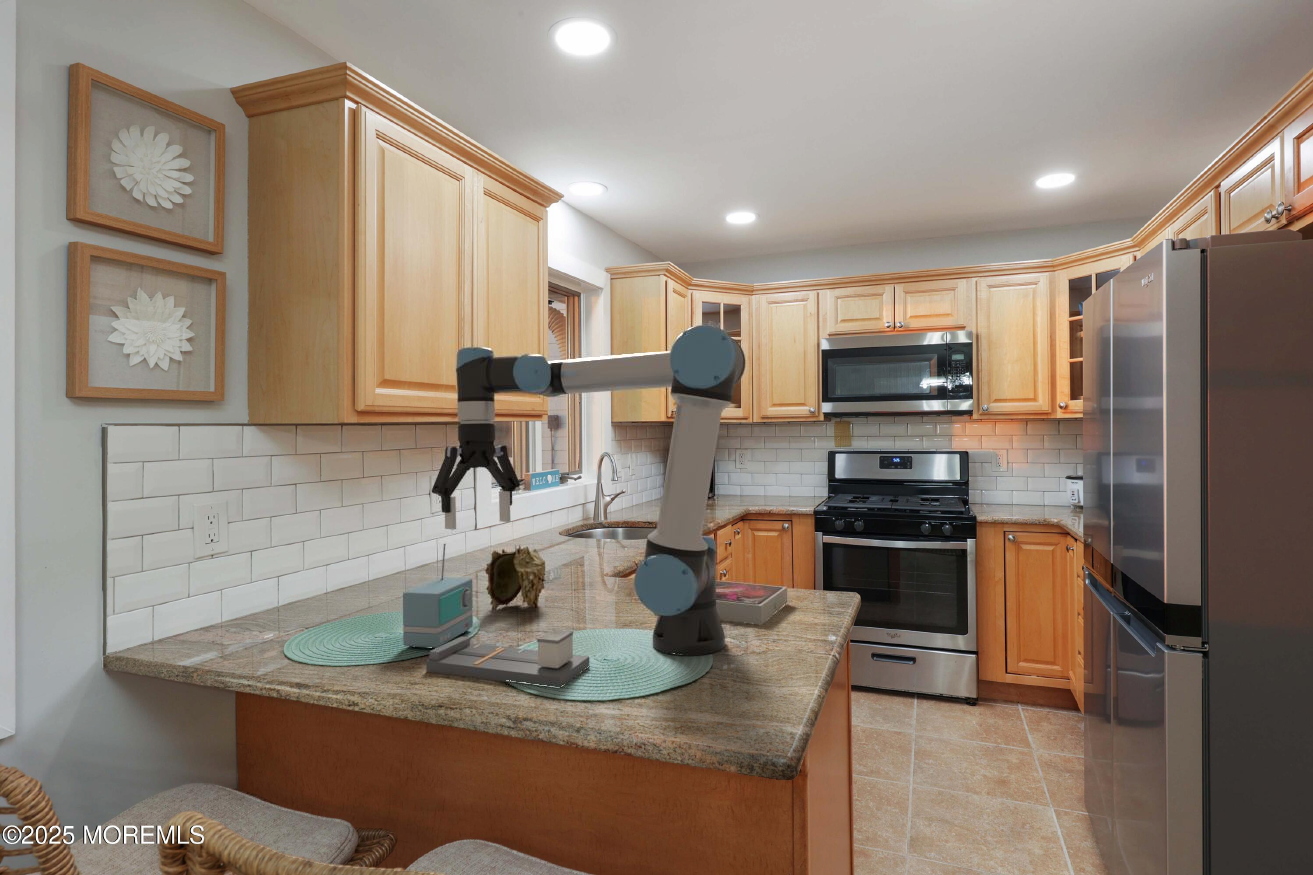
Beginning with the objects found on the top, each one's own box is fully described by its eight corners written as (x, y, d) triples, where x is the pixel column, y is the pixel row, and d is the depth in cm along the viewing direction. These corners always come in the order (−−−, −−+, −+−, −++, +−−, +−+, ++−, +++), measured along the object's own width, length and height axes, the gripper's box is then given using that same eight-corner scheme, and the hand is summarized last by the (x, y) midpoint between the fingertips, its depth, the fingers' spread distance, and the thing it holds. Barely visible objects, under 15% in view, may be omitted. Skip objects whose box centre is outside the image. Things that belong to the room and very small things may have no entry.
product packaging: (761, 627, 159) (761, 605, 159) (652, 613, 171) (652, 593, 171) (787, 606, 178) (787, 587, 178) (687, 595, 191) (687, 577, 191)
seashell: (477, 540, 169) (530, 553, 164) (516, 534, 186) (565, 545, 180) (466, 612, 169) (519, 627, 164) (506, 599, 186) (554, 612, 181)
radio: (442, 652, 141) (441, 554, 141) (402, 649, 142) (401, 553, 142) (477, 630, 156) (477, 542, 156) (441, 628, 158) (440, 541, 158)
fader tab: (573, 657, 129) (573, 631, 129) (558, 668, 123) (557, 640, 123) (553, 655, 130) (553, 629, 130) (537, 665, 124) (537, 638, 124)
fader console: (589, 666, 131) (589, 648, 131) (560, 688, 120) (559, 668, 120) (464, 652, 140) (464, 635, 140) (426, 671, 129) (426, 652, 129)
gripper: (512, 423, 155) (514, 517, 155) (412, 423, 135) (414, 531, 135) (534, 422, 150) (536, 519, 150) (433, 422, 131) (436, 533, 131)
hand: (478, 525), depth 143 cm, fingers open, 13 cm apart
